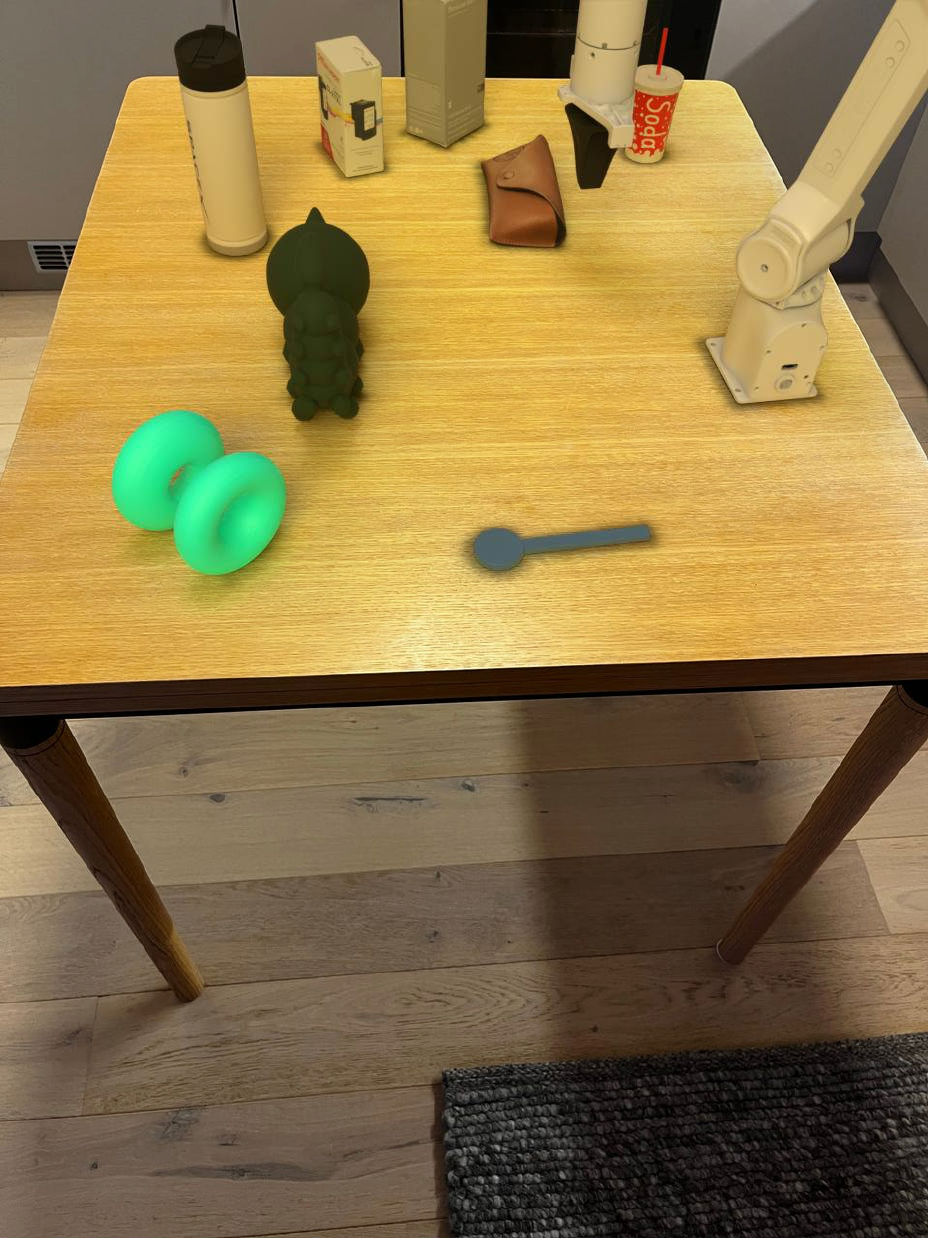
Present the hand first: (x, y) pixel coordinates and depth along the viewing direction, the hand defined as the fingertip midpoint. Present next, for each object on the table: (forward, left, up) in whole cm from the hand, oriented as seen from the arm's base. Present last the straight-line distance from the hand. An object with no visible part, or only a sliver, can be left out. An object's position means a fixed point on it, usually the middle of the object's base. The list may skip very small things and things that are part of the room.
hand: (589, 185), depth 99 cm
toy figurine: (-13, +28, -9) cm, 32 cm away
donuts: (-33, +39, -9) cm, 52 cm away
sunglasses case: (+13, +3, -9) cm, 17 cm away
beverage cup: (+23, -14, -9) cm, 28 cm away
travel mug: (+10, +35, -9) cm, 37 cm away
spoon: (-38, +12, -9) cm, 41 cm away
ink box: (+26, +21, -9) cm, 35 cm away
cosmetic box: (+32, +9, -9) cm, 34 cm away
